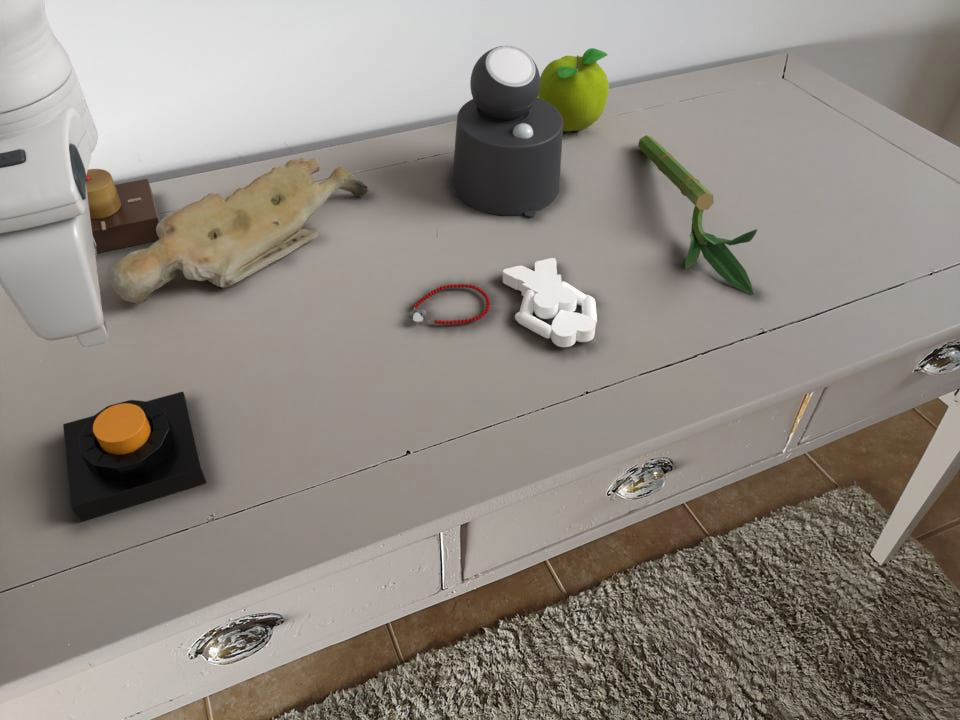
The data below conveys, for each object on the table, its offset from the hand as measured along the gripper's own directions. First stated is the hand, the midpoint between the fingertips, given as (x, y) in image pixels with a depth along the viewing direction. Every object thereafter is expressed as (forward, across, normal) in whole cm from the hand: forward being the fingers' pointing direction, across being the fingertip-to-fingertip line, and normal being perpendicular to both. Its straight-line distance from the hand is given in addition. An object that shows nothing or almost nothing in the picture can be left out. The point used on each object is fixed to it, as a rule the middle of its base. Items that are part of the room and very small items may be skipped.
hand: (90, 294), depth 57 cm
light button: (+13, +3, -2) cm, 13 cm away
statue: (+17, -23, +13) cm, 31 cm away
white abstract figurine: (+17, -2, +40) cm, 44 cm away
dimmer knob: (+14, -31, -1) cm, 34 cm away
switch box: (+16, +3, -2) cm, 17 cm away
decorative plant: (+18, -11, +62) cm, 66 cm away
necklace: (+17, -6, +30) cm, 35 cm away
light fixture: (+17, -24, +45) cm, 54 cm away
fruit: (+18, -34, +59) cm, 70 cm away
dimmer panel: (+17, -31, -1) cm, 35 cm away
